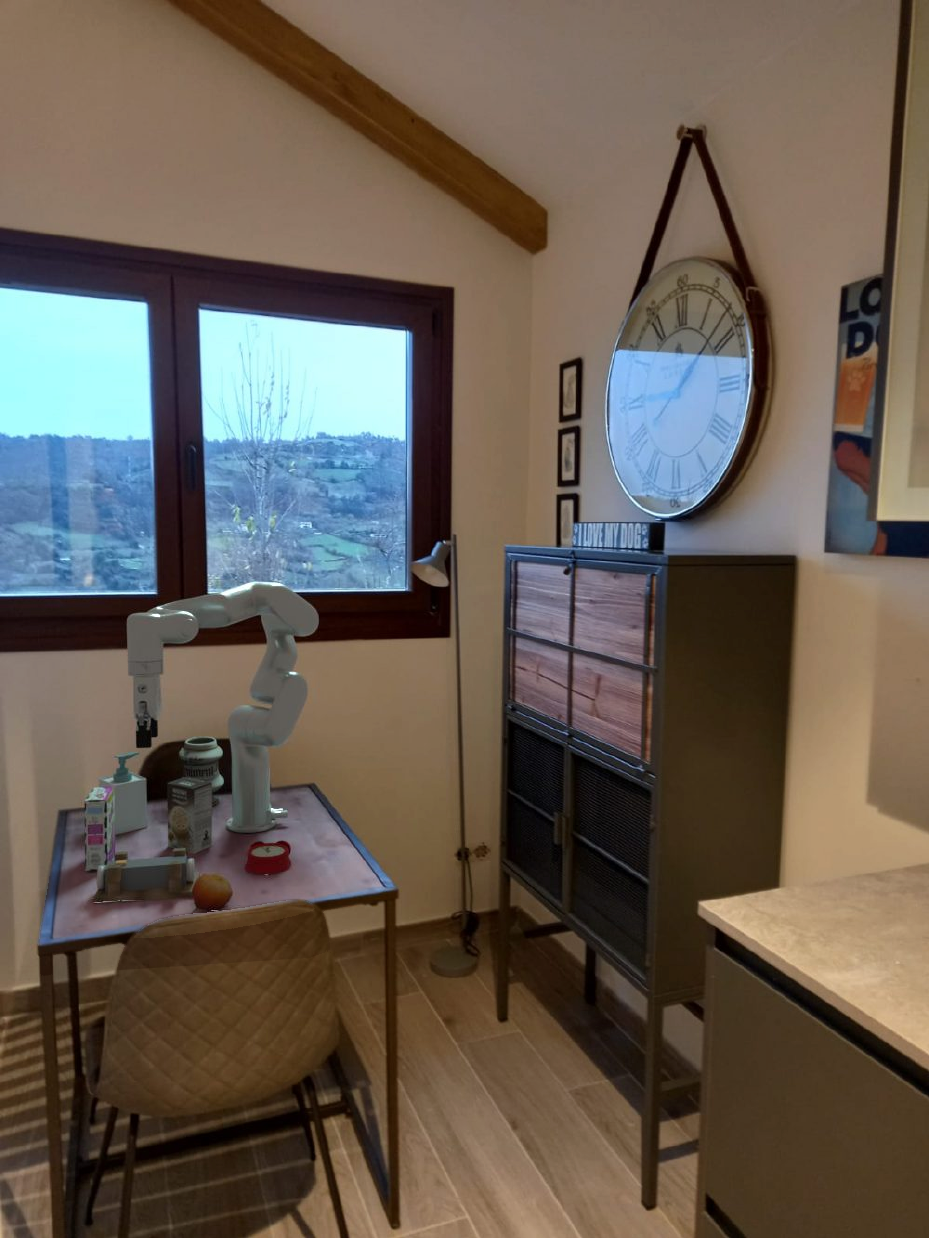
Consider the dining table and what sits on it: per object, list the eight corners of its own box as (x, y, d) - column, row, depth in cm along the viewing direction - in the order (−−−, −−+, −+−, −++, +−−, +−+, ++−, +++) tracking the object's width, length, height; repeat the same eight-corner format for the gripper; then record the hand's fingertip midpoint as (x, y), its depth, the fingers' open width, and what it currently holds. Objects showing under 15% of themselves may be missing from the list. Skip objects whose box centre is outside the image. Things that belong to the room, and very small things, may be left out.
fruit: (187, 893, 178) (207, 861, 177) (221, 911, 179) (241, 879, 178) (178, 910, 170) (198, 876, 169) (213, 929, 171) (234, 895, 170)
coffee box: (166, 847, 207) (165, 782, 205) (186, 839, 213) (185, 776, 211) (194, 854, 203) (193, 788, 201) (213, 845, 208) (213, 781, 207)
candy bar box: (108, 871, 192) (106, 799, 190) (84, 872, 191) (82, 801, 189) (117, 852, 203) (115, 785, 201) (94, 854, 202) (92, 786, 200)
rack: (199, 877, 189) (199, 846, 188) (195, 896, 179) (194, 863, 179) (103, 884, 185) (102, 851, 184) (93, 903, 175) (92, 869, 174)
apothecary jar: (181, 811, 233) (180, 746, 232) (176, 798, 244) (175, 736, 243) (227, 806, 238) (226, 742, 237) (220, 793, 249) (219, 733, 248)
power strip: (194, 876, 187) (193, 851, 186) (193, 885, 182) (192, 860, 181) (100, 884, 182) (100, 858, 181) (97, 893, 177) (96, 867, 177)
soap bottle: (148, 827, 221) (146, 754, 219) (114, 835, 214) (112, 760, 212) (132, 819, 227) (131, 748, 225) (99, 826, 220) (97, 754, 218)
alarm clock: (241, 863, 189) (248, 825, 203) (242, 887, 191) (249, 848, 205) (289, 861, 191) (292, 824, 205) (290, 885, 193) (293, 847, 207)
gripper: (157, 673, 185) (159, 751, 187) (168, 661, 202) (169, 733, 204) (121, 674, 183) (122, 752, 185) (134, 662, 200) (136, 734, 202)
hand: (147, 742), depth 194 cm, fingers open, 9 cm apart
